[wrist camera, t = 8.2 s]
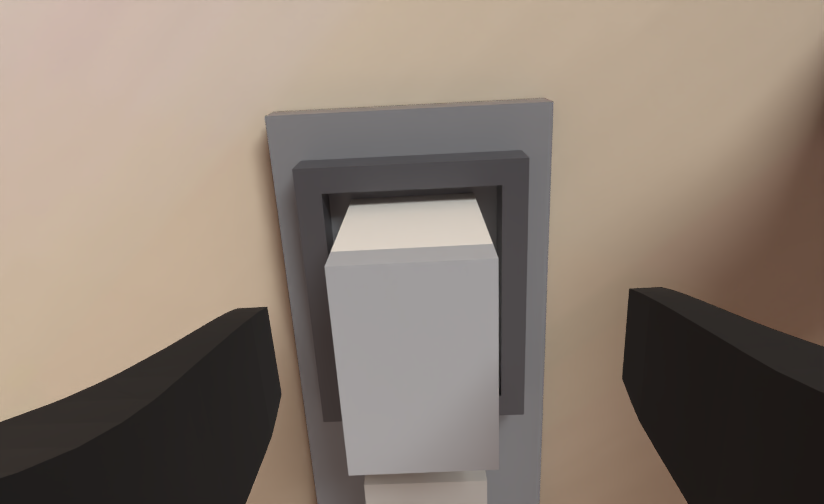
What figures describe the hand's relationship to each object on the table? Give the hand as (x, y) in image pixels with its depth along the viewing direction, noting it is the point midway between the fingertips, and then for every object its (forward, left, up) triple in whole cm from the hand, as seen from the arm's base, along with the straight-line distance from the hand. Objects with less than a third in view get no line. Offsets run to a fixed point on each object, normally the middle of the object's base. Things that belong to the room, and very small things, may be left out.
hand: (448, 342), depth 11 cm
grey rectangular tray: (+1, +6, -9) cm, 11 cm away
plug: (+1, +2, -8) cm, 8 cm away
